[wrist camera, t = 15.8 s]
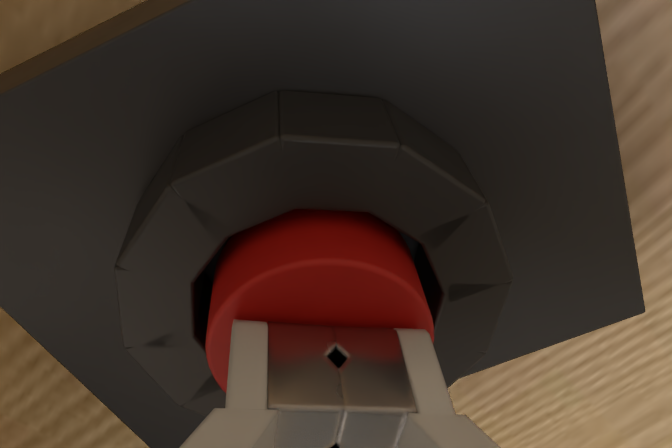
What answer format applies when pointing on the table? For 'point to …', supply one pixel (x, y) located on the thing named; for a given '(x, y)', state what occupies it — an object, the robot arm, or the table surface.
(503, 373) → the table surface
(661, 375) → the table surface
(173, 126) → the block
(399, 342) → the robot arm
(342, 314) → the button
